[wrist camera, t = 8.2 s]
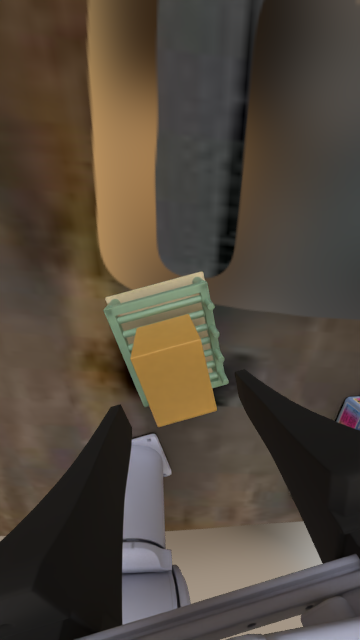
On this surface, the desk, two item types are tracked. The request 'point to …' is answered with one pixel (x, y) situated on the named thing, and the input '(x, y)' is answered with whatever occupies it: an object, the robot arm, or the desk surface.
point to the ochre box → (173, 370)
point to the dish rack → (163, 305)
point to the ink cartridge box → (350, 413)
